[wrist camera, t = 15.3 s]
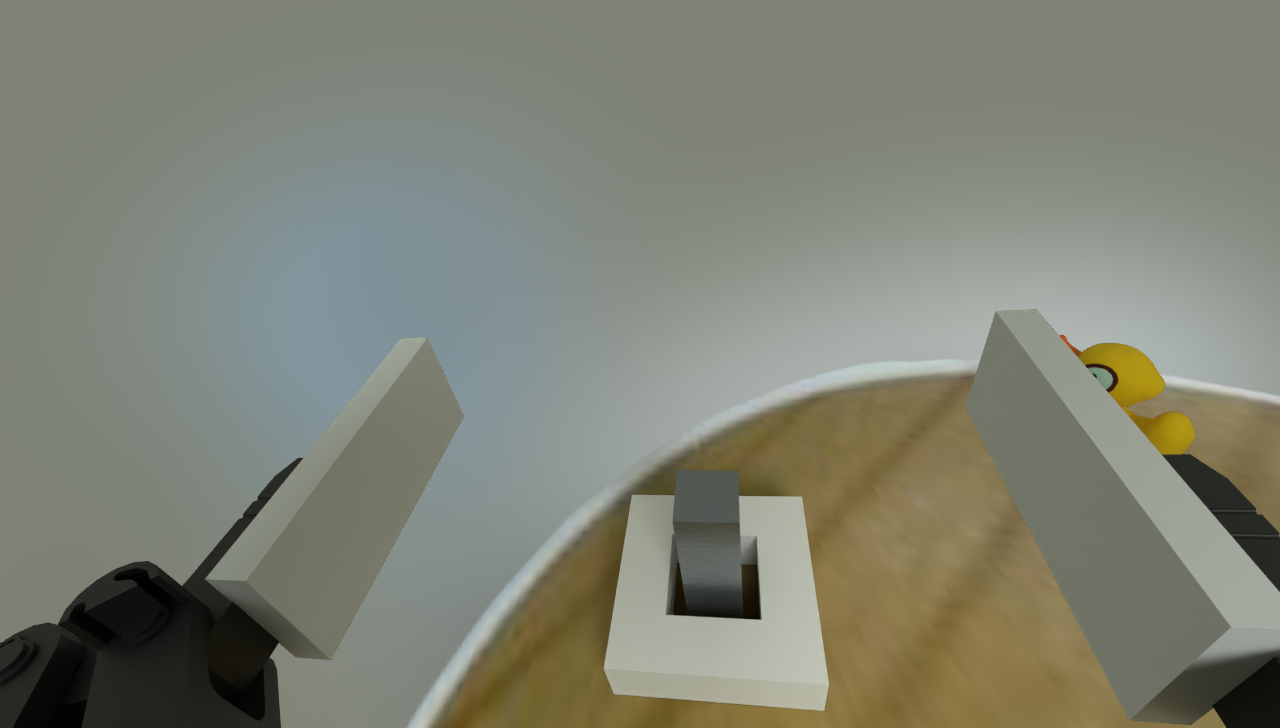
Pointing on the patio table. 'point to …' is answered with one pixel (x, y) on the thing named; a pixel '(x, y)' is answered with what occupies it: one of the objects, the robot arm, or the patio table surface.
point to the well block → (719, 647)
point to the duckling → (1137, 392)
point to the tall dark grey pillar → (709, 542)
